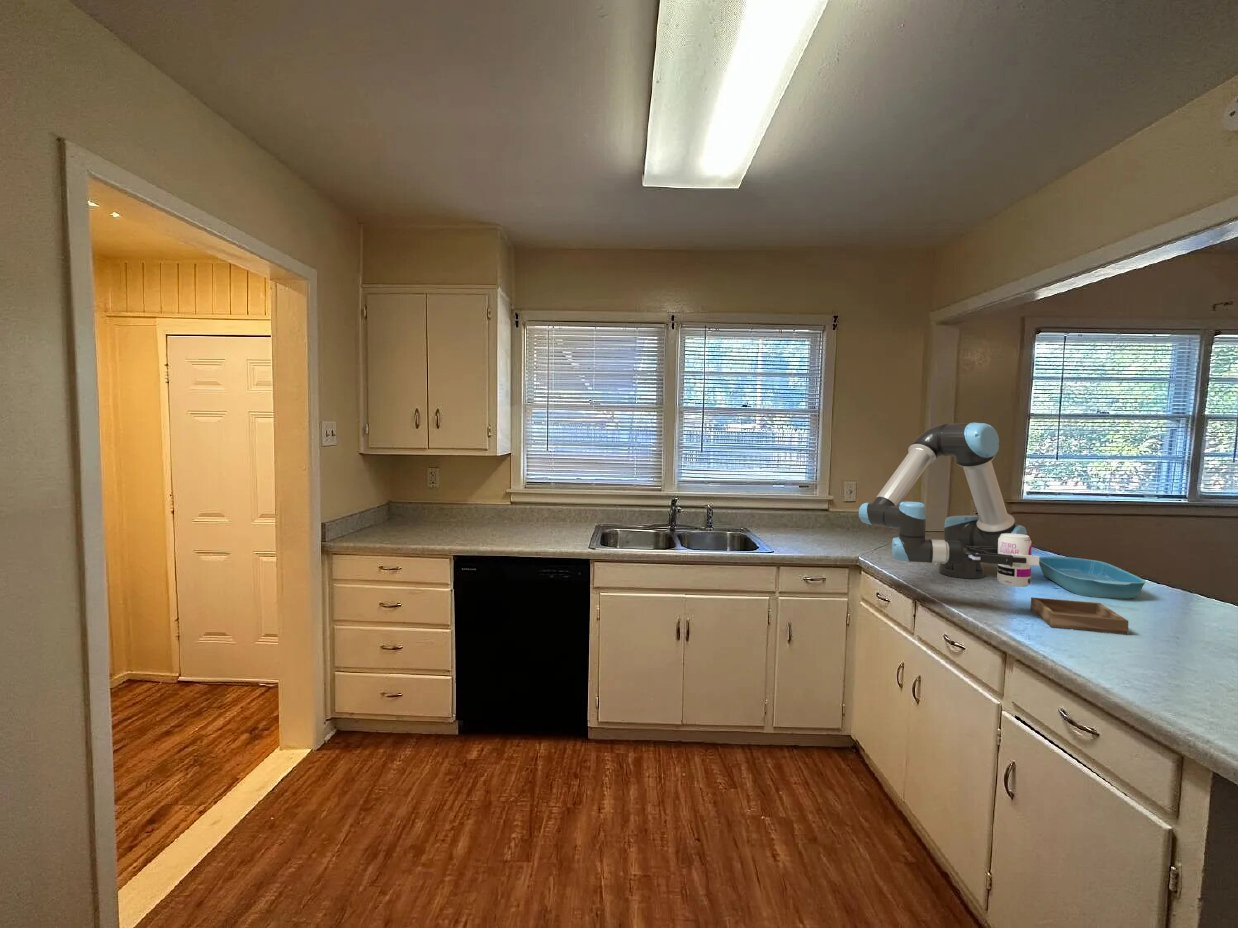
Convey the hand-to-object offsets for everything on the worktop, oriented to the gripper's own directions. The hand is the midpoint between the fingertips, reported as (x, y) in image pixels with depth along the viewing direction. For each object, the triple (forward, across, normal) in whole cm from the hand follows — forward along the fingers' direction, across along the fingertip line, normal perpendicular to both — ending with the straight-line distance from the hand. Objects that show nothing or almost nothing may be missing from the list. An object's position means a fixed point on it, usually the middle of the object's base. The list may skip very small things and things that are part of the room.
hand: (1033, 557), depth 158 cm
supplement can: (-5, 0, -9) cm, 10 cm away
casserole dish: (+28, -42, -18) cm, 54 cm away
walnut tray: (+10, +2, -18) cm, 21 cm away
